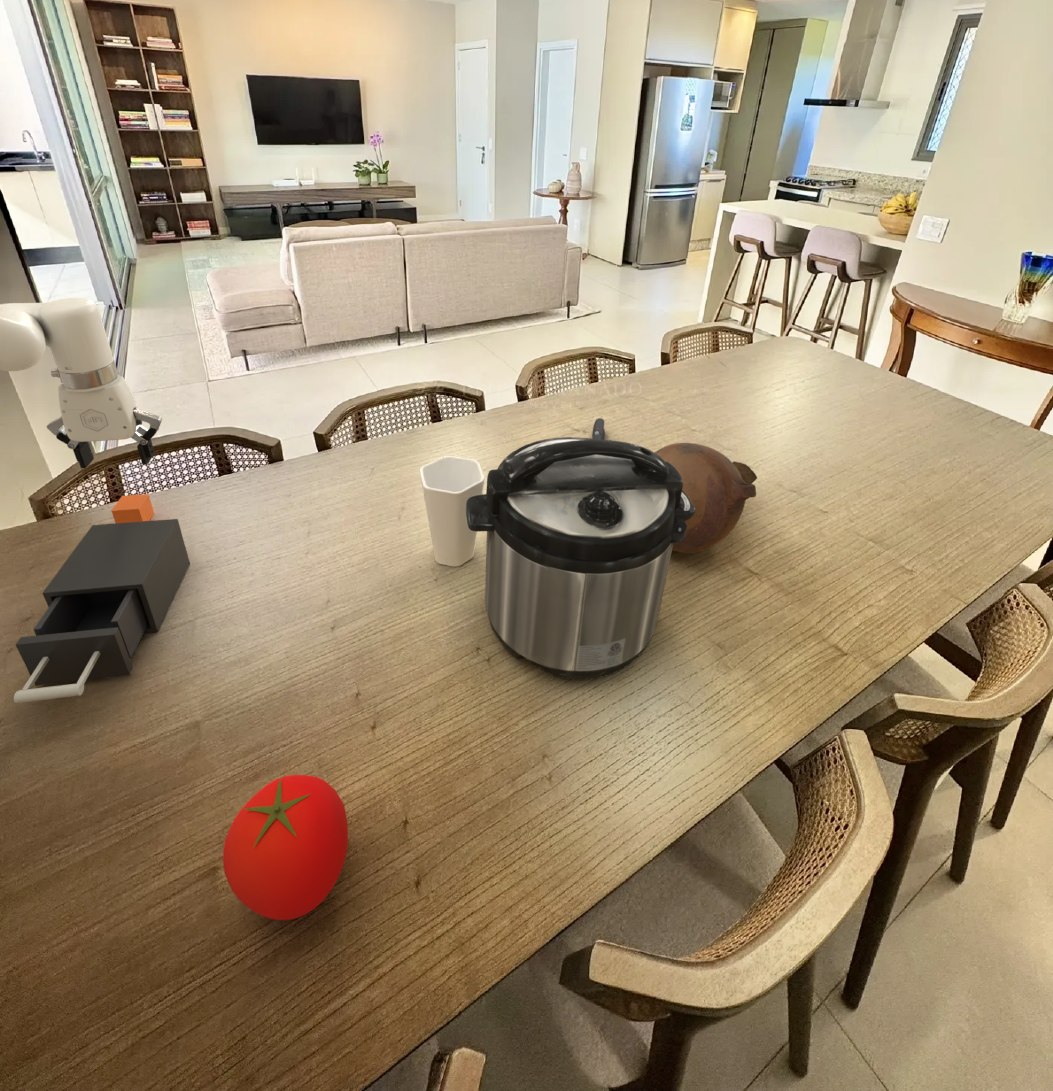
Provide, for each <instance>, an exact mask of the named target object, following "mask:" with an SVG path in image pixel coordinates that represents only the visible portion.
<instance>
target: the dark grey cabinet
mask: <svg viewBox="0 0 1053 1091" xmlns="http://www.w3.org/2000/svg"><path fill="white" fill-rule="evenodd" d="M190 565H191V561H190V558H189V555H188V551H187V546H186V544H185V541H184V536H183V533H182V529H181V525H180V523H179V519H178V518H171V519H169V518H168V519H158V520H150V521H142V522H128V523H115V522H114V523H104V524H102V523H101V524H92V525H91V526H90V527H89V529H88V530H87V532H85V534H84V536H83V537H82V538H81V540H80V542H79V543H78V544H77V545H76V546H75V548H74V549H73V551H72V552H71V553H70V555H69V556H68V558H67V559H66V560H65V561H64V563H63V564H62V566H61V567H60V568H59V570H58V571H57V573H56V574H55V575H54V576H53V578H52V579H51V581H50V582H49V583H48V585H47V586H46V588H45V589H44V590H43V591H42V596H43V598H44V601H45V602H46V605H47V607H48V608H49V606H50V605H51V604H52V602H53V601H54V599H55V598H56V597H57V596H62V595H73V594H84V593H95V592H106V591H117V590H128V589H138V592H139V595H140V597H141V600H142V603H143V606H144V609H145V612H146V615H147V618H148V621H149V623H148V625H147V627H146V629H145V631H144V633H143V635H144V634H153V633H159V631H160V629H161V627H162V624H163V622H164V620H165V618H166V617H167V616H166V615H167V613H168V611H169V609H170V607H171V605H172V603H173V601H174V599H175V596H176V594H177V592H178V591H179V588H180V587H181V584H182V581H183V580H184V578H185V575H186V573H187V572H188V569H189V567H190Z"/></svg>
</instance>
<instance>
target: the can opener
mask: <svg viewBox="0 0 1053 1091" xmlns="http://www.w3.org/2000/svg"><path fill="white" fill-rule="evenodd" d="M591 434H592V435H591V439H597V440H606V429H605V419H603V418H601V417H600V418H599V417H598V418H596V420H595V421H594V423H593V426H592V433H591Z"/></svg>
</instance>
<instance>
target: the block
mask: <svg viewBox="0 0 1053 1091" xmlns="http://www.w3.org/2000/svg"><path fill="white" fill-rule="evenodd" d="M111 514H112V517H113V519H114V520H113V521H114V524H115V523H128V522H142V521H151V519H152V518H153V516H154V514H155V511H154V508H153V504H152V502H151V497H150V494H149V493H145V494H142V493H141V494H129V495H121V497H120V498H119V499H118V501H117V502H116V504H115V505H114V507H113V508H112V509H111Z"/></svg>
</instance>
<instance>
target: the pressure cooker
mask: <svg viewBox="0 0 1053 1091" xmlns="http://www.w3.org/2000/svg"><path fill="white" fill-rule="evenodd" d="M654 452H655V451H653V450H651V449H649V448H647V447H644V446H641V445H637V444H635V443H631V442H627V441H619V440H612V439H605V440H597V439H592V438H588V437H579V436H578V437H575V436H574V437H573V436H564V437H552V438H545V439H541V440H536V441H533V442H531V443H528V444H524V445H522V446H520V447H518V448H517V449H515V450H513V451H512V452H510V453H509V454H508V455H507V456H506V457H504V459H503V460H502V461H501V463H500V464H499V465H498V466H497V468H495V469H490V470H489V471H488V473H487V476H486V492H485V493H483V494H482V495H476V496H472V497H470V498H468V500H467V503H466V517H467V523H468V527H469V529H470V530H471V531H477V532H486V546H485V547H486V548H485V550H486V551H485V577H484V578H485V582H484V604H485V610H486V615H487V618H488V620H489V625H490V627H491V629H492V631H493V633H494V635H495V637H496V638H497V639H498V640H499V642H500V643H501V644H502V645H503V647H504V648H505V649H506V650H507V651H508V652H509V653H510V655H512V656H513V657H514V658H516V659H517V660H521V661H522V660H528V662H529V663H530V664H532V665H533V666H534V665H535V666H536V667H539V668H540V670H542V671H544V672H546V673H549V674H550V675H552V677H555V678H560V679H565V680H574V681H581V680H582V681H585V680H594V679H595V680H596V679H599V678H604V677H607V676H610V675H613V674H615V673H618V672H619V671H621V670H623V669H625V668H626V667H628V666H630V665H631V664H632V663H633V662H634V661H635V660H637V659H638V658H639V657H640V656H641V655H642V653H644V651H645V650H646V649H647V647H648V646H649V645H650V642H651V641H652V640H653V636H654V633H655V631H656V629H657V625H658V621H659V620H658V619H659V614H660V610H661V605H662V600H663V596H664V591H665V586H666V582H667V577H668V572H669V566H670V561H671V556H672V552H673V550H672V548H673V543H676V542H681V541H682V540H683V539H684V537H685V534H686V530H687V524H686V522H685V521H686V520H688V519H690V518H691V517H692V516H693V515H694V514H695V508H694V506H693V504H692V502H691V500H690V499H689V497H688V496H687V495H686V494H685V492H684V491H683V490H682V488H683V480H682V477H681V475H680V473H679V472H678V471H677V470H676V469H675V467H674V466H672V465H671V464H670V463H669V462H665V461H664V460H663V459H662V458H661V457H660V456H659V455H657V454H656V453H654Z"/></svg>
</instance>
